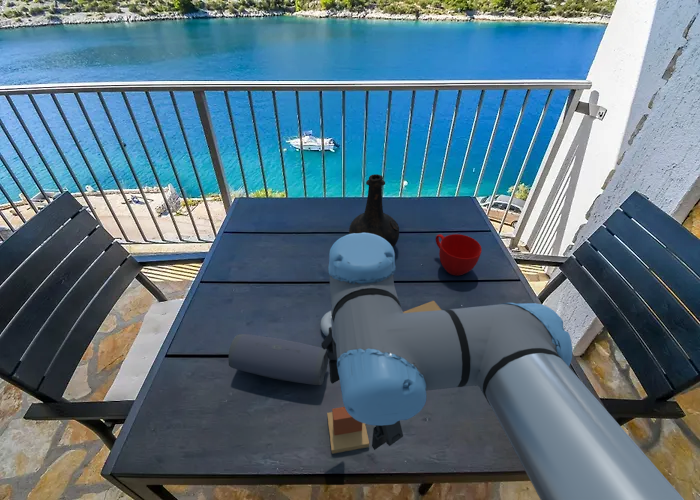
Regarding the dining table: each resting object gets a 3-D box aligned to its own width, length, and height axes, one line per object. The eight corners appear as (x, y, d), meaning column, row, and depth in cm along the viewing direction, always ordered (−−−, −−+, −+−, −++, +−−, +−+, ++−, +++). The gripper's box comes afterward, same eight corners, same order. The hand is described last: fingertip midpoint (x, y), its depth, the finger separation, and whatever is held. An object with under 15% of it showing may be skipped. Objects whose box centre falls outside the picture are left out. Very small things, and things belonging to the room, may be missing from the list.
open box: (369, 447, 74) (370, 428, 69) (331, 453, 73) (330, 435, 68) (361, 410, 80) (362, 390, 75) (327, 416, 79) (325, 396, 74)
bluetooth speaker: (329, 362, 90) (328, 339, 84) (320, 396, 83) (317, 373, 77) (248, 347, 94) (240, 323, 87) (232, 378, 87) (223, 354, 80)
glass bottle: (392, 266, 120) (400, 194, 102) (342, 256, 123) (341, 186, 106) (401, 236, 133) (409, 168, 115) (356, 228, 137) (357, 162, 119)
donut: (351, 346, 94) (359, 317, 102) (351, 338, 92) (359, 309, 100) (316, 339, 96) (326, 311, 104) (315, 331, 94) (325, 303, 101)
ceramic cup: (446, 246, 128) (451, 224, 122) (483, 272, 117) (490, 249, 111) (420, 259, 122) (423, 236, 116) (455, 287, 111) (462, 264, 105)
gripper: (443, 392, 41) (420, 462, 55) (336, 271, 58) (339, 348, 71) (393, 426, 38) (381, 492, 52) (295, 289, 55) (306, 365, 68)
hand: (357, 408), depth 61 cm, fingers open, 13 cm apart
